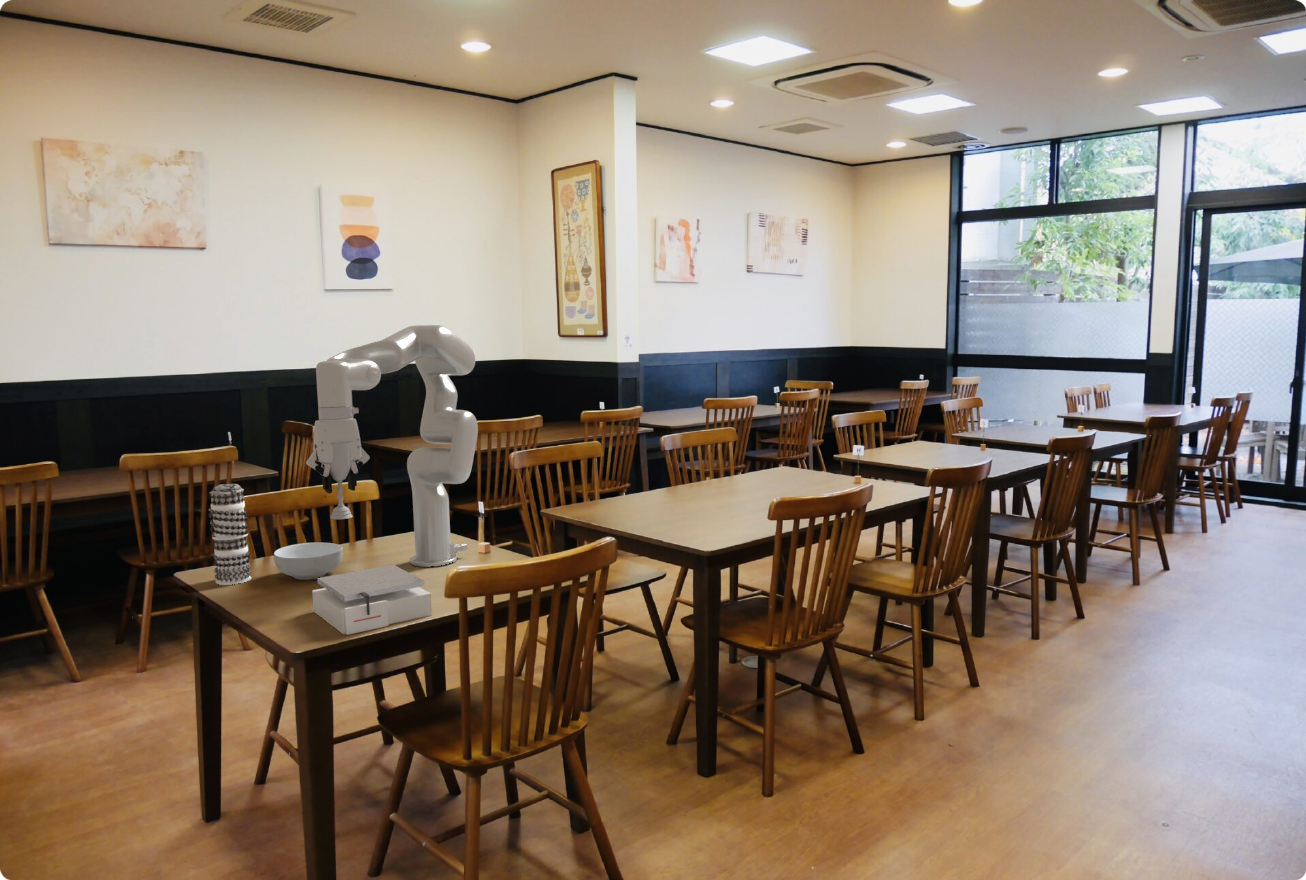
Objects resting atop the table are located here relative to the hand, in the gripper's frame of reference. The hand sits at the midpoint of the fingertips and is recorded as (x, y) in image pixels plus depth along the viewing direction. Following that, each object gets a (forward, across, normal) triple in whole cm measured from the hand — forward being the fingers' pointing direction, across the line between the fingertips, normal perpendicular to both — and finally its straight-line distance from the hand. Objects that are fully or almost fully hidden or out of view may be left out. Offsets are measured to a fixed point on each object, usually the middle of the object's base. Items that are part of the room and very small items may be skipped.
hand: (340, 490), depth 218 cm
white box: (+24, -1, +16) cm, 29 cm away
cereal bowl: (+27, +1, -28) cm, 38 cm away
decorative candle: (+27, +18, -35) cm, 48 cm away
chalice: (+7, 0, 0) cm, 7 cm away
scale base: (+26, -1, +14) cm, 30 cm away
